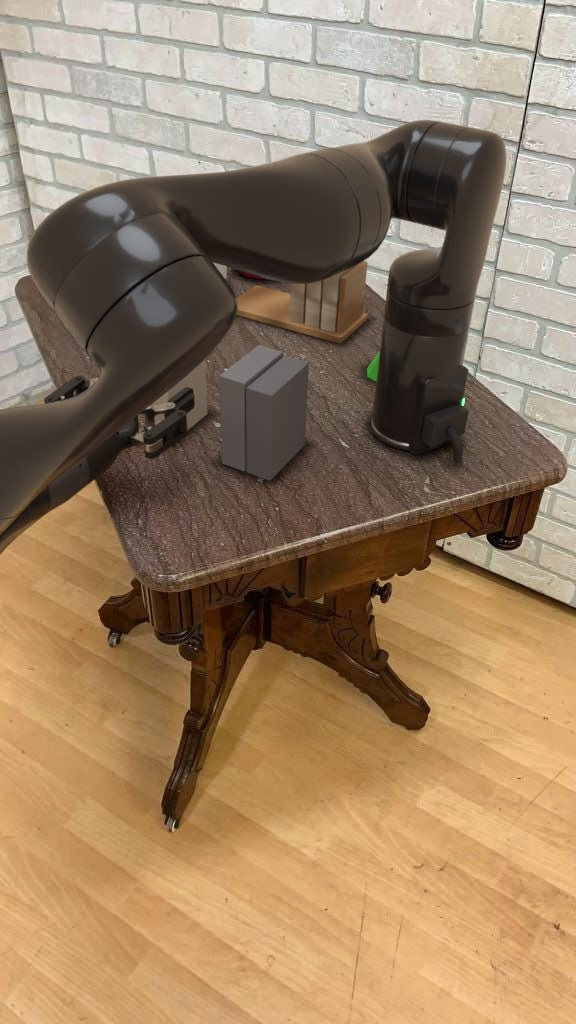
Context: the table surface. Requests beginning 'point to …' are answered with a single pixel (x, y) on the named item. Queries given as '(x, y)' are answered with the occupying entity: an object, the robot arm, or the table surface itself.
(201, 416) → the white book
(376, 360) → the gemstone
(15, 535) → the robot arm
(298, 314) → the light brown book rack
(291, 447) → the grey books
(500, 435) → the table surface
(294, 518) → the table surface
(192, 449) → the table surface
